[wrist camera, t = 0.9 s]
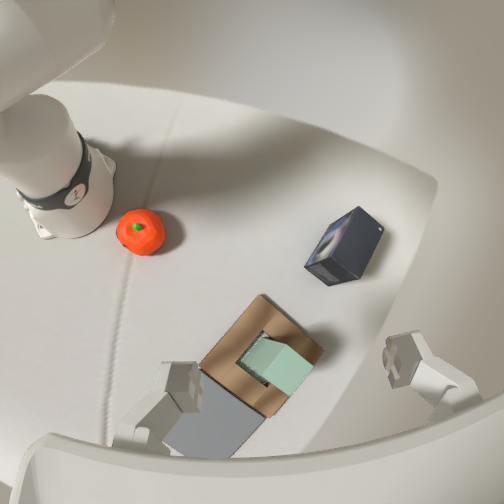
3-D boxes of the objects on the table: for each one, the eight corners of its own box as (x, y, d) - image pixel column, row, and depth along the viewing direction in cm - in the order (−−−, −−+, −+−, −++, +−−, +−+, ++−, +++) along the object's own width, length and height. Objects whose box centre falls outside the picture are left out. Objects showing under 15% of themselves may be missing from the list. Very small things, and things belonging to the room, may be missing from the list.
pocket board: (198, 364, 44) (198, 365, 42) (258, 295, 48) (259, 294, 47) (267, 416, 44) (269, 418, 43) (321, 349, 49) (324, 350, 48)
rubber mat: (146, 426, 39) (145, 428, 38) (198, 368, 43) (199, 369, 43) (212, 470, 40) (213, 473, 39) (263, 417, 44) (265, 418, 43)
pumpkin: (157, 263, 46) (150, 261, 40) (115, 244, 45) (103, 239, 39) (174, 223, 47) (171, 215, 41) (132, 205, 46) (124, 194, 40)
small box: (328, 221, 54) (358, 202, 44) (354, 242, 55) (386, 228, 45) (301, 266, 51) (329, 254, 41) (329, 287, 52) (361, 280, 42)
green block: (242, 360, 45) (261, 375, 34) (261, 337, 47) (286, 344, 35) (264, 378, 46) (290, 396, 34) (283, 355, 47) (313, 366, 36)
